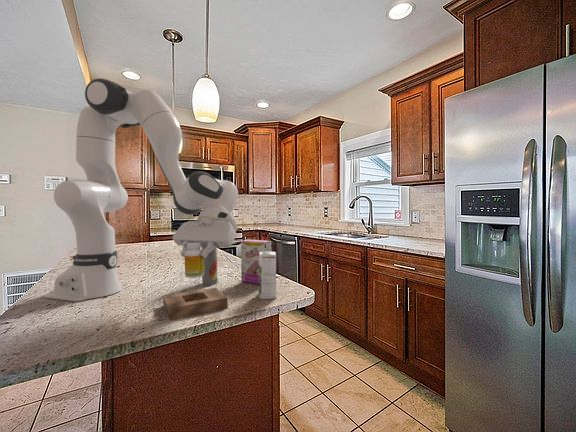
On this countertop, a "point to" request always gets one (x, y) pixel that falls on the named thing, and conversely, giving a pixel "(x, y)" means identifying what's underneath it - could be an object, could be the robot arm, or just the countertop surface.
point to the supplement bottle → (193, 261)
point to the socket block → (194, 302)
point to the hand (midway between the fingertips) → (192, 256)
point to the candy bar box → (252, 258)
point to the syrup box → (267, 275)
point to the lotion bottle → (210, 268)
